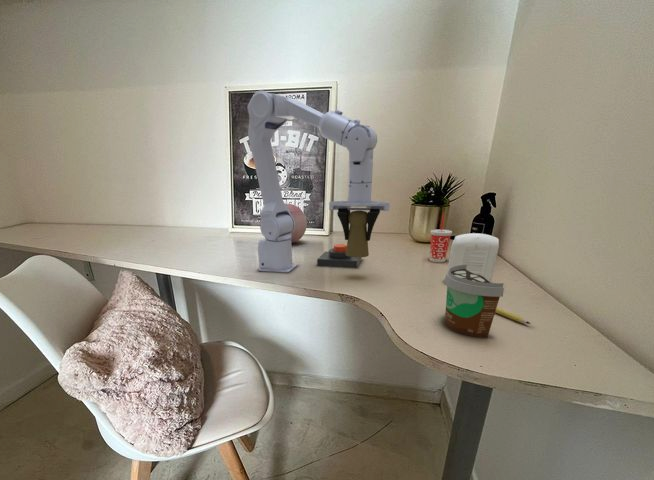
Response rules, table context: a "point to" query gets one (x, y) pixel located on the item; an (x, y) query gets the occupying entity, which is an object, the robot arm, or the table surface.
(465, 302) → the food container
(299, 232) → the pink ball
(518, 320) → the pencil
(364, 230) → the cork
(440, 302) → the table surface
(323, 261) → the dark grey button base
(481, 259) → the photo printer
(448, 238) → the beverage cup
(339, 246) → the timer button
